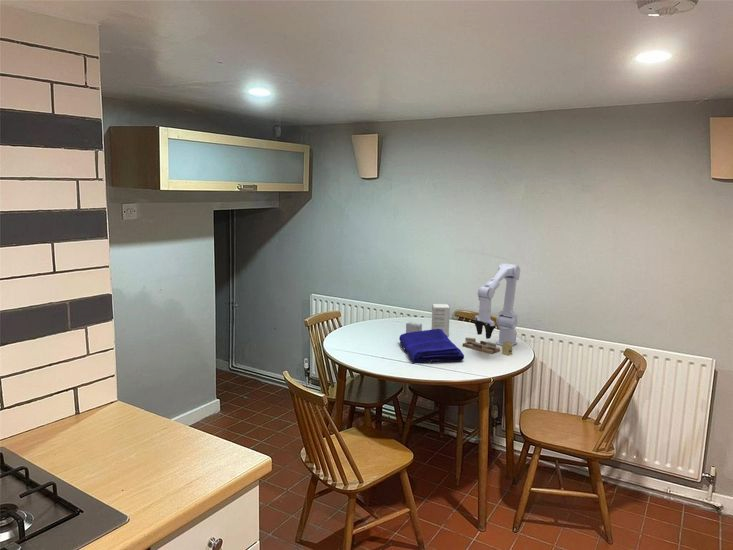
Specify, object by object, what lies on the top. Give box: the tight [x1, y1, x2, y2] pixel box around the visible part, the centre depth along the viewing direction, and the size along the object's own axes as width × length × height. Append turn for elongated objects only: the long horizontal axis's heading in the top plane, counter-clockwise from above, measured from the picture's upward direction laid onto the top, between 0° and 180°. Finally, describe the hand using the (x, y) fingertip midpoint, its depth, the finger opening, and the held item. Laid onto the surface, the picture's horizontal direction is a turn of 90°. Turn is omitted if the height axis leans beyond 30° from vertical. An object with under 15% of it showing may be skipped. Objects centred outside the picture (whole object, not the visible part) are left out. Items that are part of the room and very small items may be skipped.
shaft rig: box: [462, 336, 501, 355], centre depth 283 cm, size 8×18×4 cm, turn 43°
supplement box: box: [431, 303, 451, 337], centre depth 309 cm, size 10×9×17 cm
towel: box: [398, 328, 465, 364], centre depth 277 cm, size 26×36×9 cm
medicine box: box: [405, 321, 423, 333], centre depth 300 cm, size 8×4×9 cm, turn 59°
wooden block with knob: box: [501, 341, 514, 356], centre depth 275 cm, size 4×4×6 cm
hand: (483, 336), depth 273 cm, fingers open, 7 cm apart
